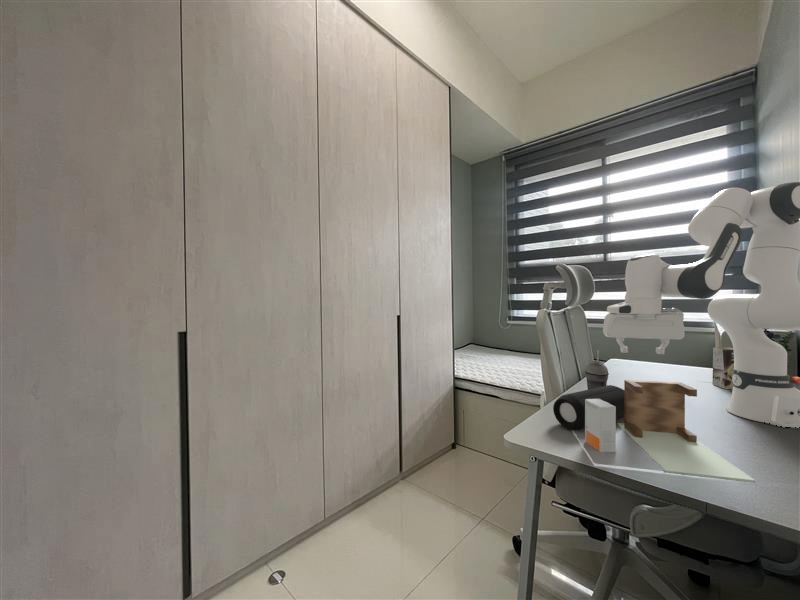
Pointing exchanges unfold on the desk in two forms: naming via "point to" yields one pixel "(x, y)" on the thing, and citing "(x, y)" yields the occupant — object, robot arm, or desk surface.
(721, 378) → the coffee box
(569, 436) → the desk surface
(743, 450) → the desk surface
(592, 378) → the beverage cup
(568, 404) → the portable speaker
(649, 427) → the stool
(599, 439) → the skincare box
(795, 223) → the robot arm
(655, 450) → the mat
